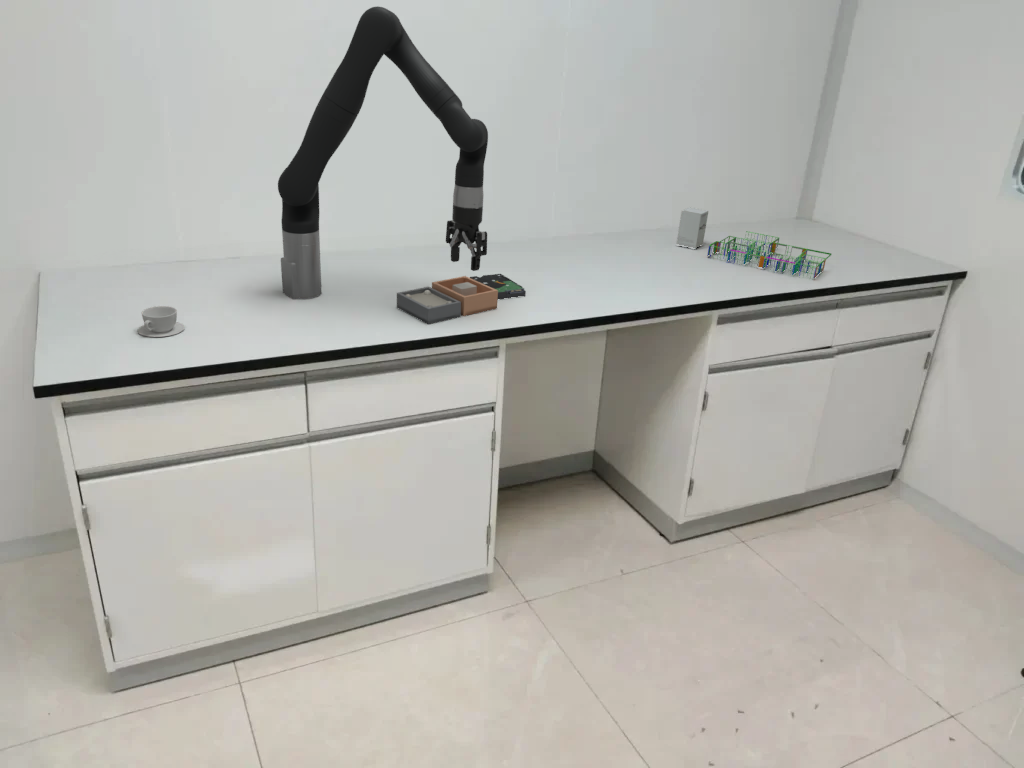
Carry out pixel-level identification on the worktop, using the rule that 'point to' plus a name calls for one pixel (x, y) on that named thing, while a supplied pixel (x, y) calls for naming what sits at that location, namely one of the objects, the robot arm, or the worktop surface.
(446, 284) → the terracotta bin
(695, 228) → the supplement box
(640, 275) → the worktop surface
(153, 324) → the teacup
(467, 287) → the gray rectangular block
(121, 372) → the worktop surface
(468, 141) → the robot arm
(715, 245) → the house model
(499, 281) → the disk drive
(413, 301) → the gravel bin
